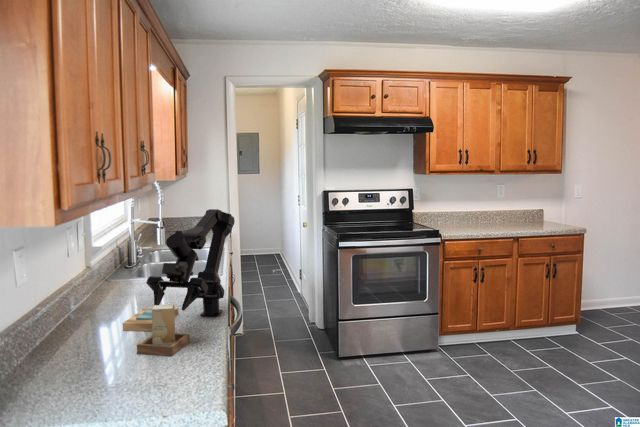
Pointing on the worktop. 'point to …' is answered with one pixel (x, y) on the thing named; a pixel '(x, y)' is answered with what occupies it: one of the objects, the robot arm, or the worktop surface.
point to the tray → (149, 348)
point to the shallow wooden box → (141, 320)
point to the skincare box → (163, 325)
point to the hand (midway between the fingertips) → (168, 309)
